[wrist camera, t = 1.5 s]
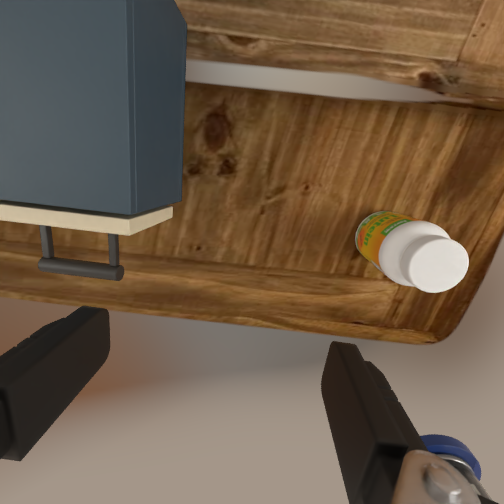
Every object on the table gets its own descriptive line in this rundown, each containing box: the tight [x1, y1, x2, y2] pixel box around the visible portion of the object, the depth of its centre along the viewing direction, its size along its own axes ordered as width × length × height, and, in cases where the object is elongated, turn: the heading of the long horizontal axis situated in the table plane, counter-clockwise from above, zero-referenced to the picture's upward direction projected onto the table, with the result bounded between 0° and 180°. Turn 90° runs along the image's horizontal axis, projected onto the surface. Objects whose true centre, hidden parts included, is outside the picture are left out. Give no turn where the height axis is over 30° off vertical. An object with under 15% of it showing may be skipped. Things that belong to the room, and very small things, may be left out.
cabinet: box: [0, 0, 187, 215], centre depth 20 cm, size 16×14×11 cm
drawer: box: [0, 200, 173, 281], centre depth 22 cm, size 20×12×9 cm, turn 174°
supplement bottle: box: [355, 211, 469, 293], centre depth 23 cm, size 5×5×10 cm
